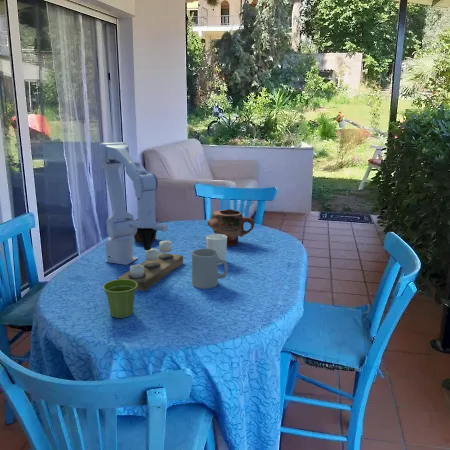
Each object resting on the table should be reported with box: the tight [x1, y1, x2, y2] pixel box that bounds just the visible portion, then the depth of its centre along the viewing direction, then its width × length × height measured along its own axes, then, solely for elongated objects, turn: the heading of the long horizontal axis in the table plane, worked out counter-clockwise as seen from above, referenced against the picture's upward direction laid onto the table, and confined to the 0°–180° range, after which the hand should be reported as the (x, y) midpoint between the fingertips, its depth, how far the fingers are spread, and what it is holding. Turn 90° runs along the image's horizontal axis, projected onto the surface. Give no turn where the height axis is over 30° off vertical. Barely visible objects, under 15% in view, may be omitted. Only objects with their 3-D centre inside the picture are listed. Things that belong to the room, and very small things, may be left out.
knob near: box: [129, 263, 144, 278], centre depth 146 cm, size 4×4×3 cm
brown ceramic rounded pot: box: [207, 208, 256, 247], centre depth 190 cm, size 20×12×14 cm, turn 85°
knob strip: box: [116, 251, 184, 292], centre depth 156 cm, size 10×28×3 cm, turn 159°
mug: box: [191, 248, 229, 290], centre depth 147 cm, size 12×8×11 cm
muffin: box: [133, 218, 157, 244], centre depth 194 cm, size 12×11×10 cm
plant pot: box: [102, 279, 138, 319], centre depth 126 cm, size 9×9×9 cm
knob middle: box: [144, 247, 159, 261], centre depth 155 cm, size 4×4×3 cm
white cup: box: [205, 233, 228, 266], centre depth 168 cm, size 8×8×10 cm
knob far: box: [158, 240, 173, 253], centre depth 164 cm, size 4×4×3 cm
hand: (147, 249), depth 152 cm, fingers closed
